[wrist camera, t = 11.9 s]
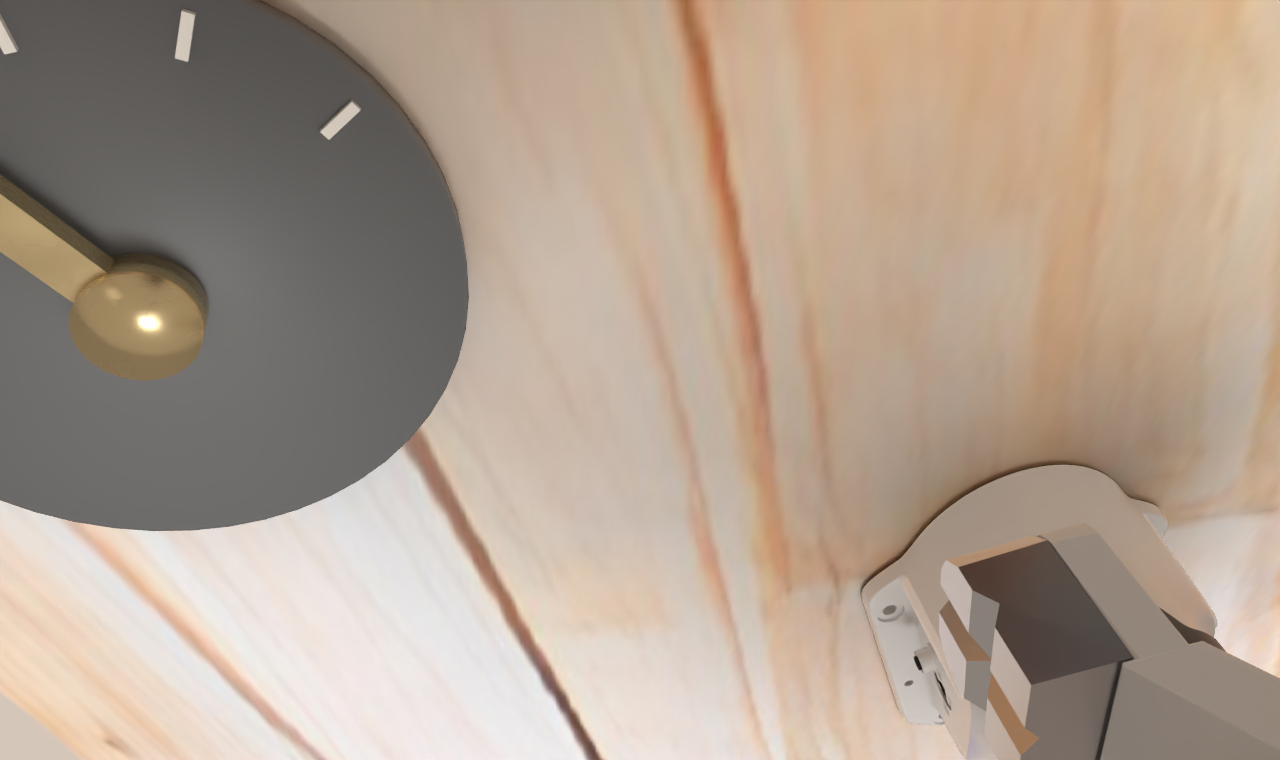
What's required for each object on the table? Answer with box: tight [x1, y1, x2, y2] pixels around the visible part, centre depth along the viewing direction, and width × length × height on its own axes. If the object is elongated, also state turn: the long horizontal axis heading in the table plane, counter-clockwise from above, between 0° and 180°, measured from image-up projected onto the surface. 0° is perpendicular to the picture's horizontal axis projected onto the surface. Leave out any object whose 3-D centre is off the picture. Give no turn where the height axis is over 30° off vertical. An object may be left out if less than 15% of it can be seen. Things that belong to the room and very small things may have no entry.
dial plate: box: [0, 0, 469, 531], centre depth 39 cm, size 24×24×2 cm
